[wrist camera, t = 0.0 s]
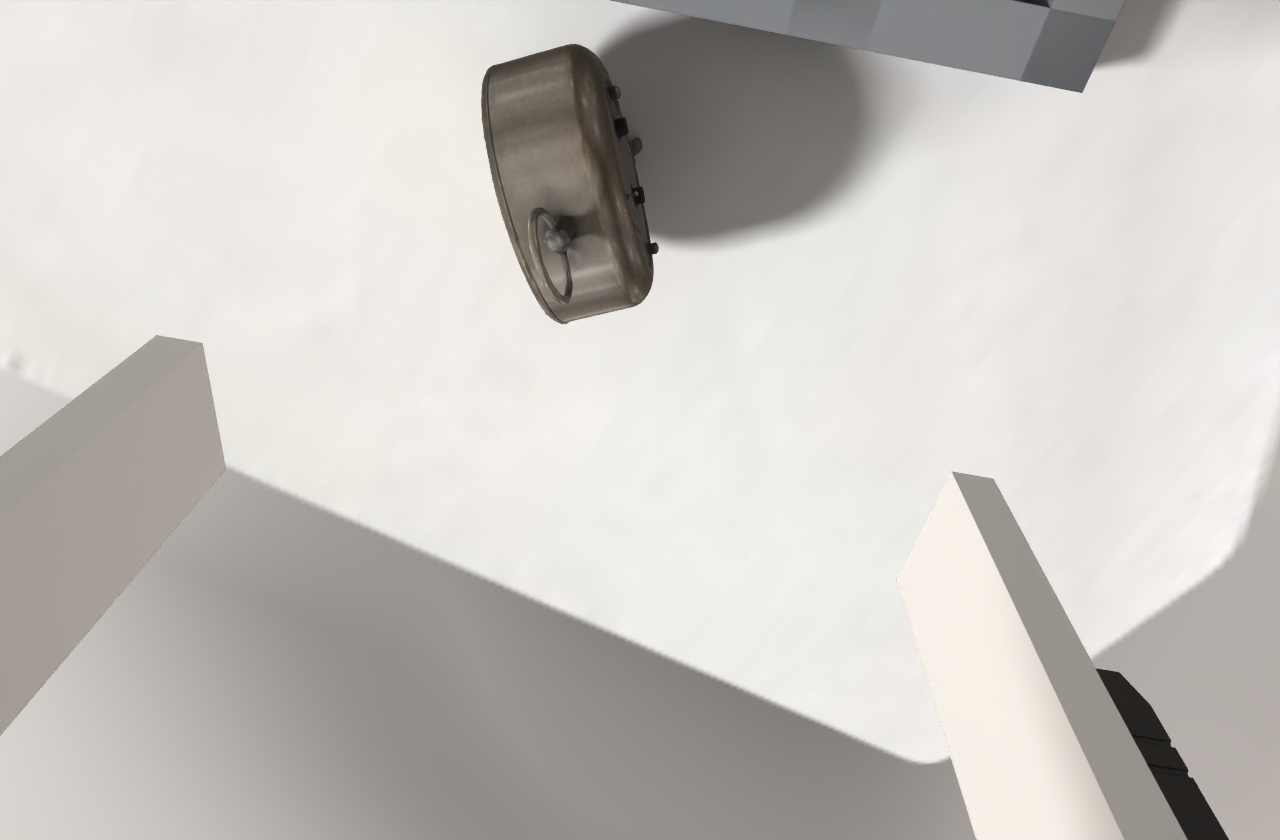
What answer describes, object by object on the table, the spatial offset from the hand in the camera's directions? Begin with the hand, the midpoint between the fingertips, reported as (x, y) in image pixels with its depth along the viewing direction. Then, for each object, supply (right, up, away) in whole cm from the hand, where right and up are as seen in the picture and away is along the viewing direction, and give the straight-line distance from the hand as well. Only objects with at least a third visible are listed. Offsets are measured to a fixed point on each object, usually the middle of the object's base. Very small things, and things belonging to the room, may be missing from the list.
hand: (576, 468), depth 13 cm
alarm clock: (-1, +15, +24) cm, 28 cm away
